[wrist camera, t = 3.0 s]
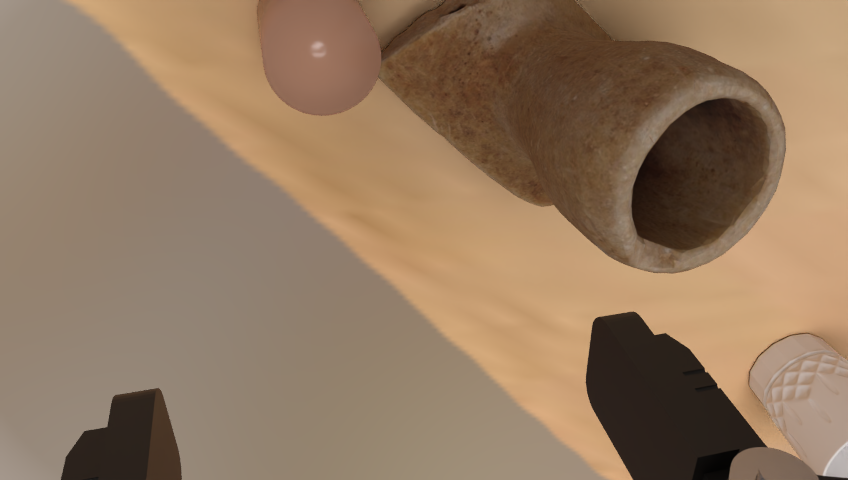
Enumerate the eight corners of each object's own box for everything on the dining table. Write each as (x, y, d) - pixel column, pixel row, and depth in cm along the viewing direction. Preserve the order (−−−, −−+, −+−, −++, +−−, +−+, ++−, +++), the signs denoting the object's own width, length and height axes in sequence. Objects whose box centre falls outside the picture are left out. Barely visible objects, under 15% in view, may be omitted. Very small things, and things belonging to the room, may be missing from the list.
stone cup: (682, 79, 45) (858, 200, 32) (533, 214, 47) (642, 374, 35) (528, -121, 37) (682, -61, 25) (360, 56, 40) (422, 189, 27)
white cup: (844, 321, 59) (945, 411, 51) (814, 395, 64) (902, 490, 55) (755, 332, 58) (844, 427, 50) (730, 408, 62) (808, 507, 54)
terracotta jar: (354, -41, 37) (377, -5, 31) (361, 58, 40) (384, 109, 34) (250, -34, 36) (255, 6, 30) (264, 67, 39) (271, 121, 33)
